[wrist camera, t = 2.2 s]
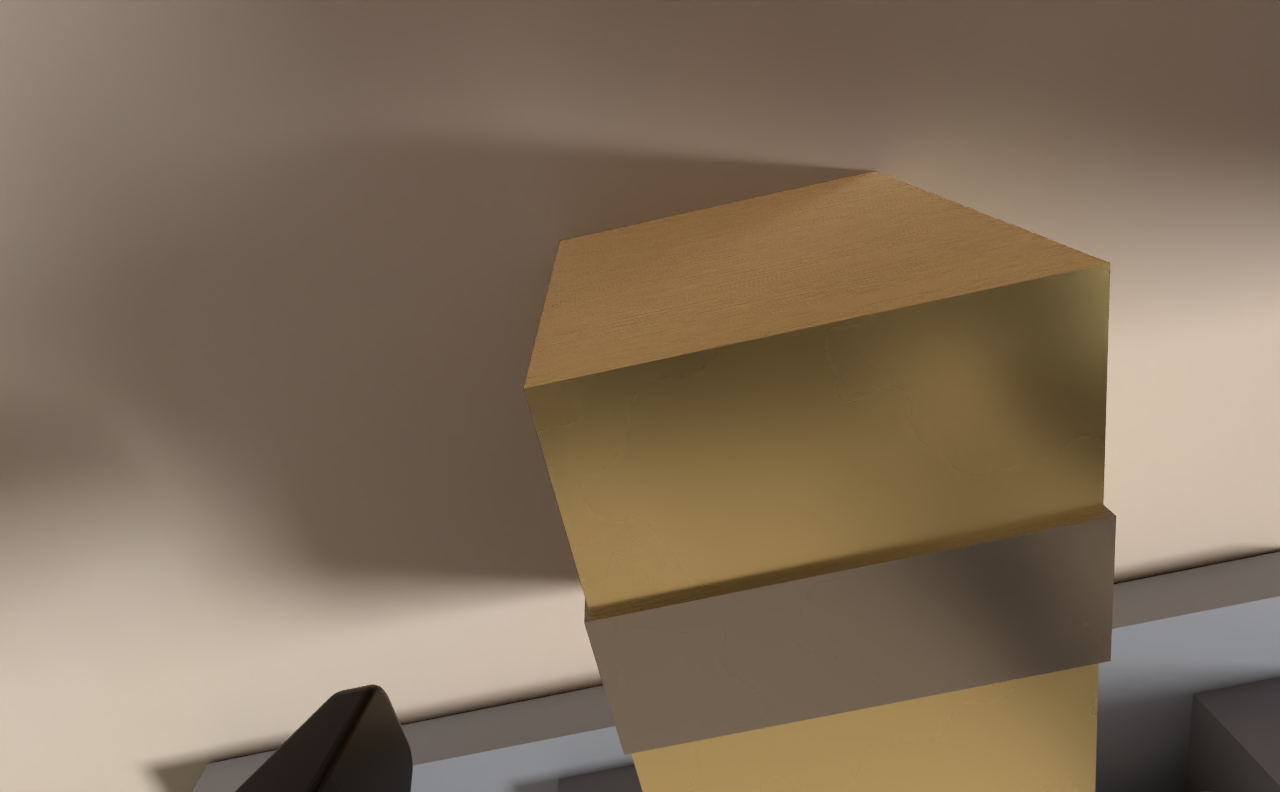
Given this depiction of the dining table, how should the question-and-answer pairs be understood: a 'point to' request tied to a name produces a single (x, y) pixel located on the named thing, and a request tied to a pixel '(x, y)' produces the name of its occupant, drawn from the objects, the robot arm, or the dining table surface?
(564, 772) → the grey bracketed cradle
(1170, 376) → the dining table surface
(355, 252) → the dining table surface
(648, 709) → the banded gold block
